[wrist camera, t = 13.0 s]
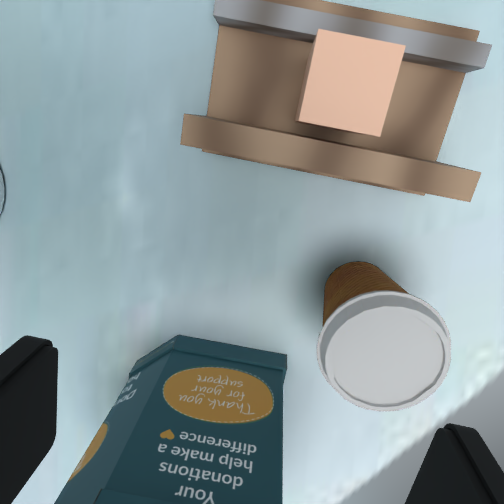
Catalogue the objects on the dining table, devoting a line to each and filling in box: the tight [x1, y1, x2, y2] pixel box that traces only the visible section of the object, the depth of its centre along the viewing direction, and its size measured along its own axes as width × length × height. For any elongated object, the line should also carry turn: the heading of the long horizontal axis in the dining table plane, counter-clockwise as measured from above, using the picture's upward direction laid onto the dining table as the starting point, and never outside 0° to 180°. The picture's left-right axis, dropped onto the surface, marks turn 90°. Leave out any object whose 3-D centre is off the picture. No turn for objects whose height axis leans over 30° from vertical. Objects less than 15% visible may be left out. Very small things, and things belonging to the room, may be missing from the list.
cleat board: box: [180, 0, 492, 202], centre depth 29 cm, size 20×13×9 cm, turn 79°
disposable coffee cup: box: [317, 261, 451, 411], centre depth 33 cm, size 10×10×12 cm
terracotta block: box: [294, 29, 406, 137], centre depth 27 cm, size 5×5×10 cm
